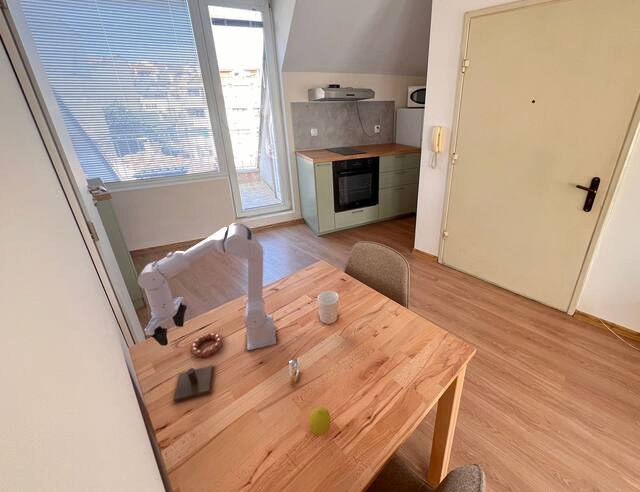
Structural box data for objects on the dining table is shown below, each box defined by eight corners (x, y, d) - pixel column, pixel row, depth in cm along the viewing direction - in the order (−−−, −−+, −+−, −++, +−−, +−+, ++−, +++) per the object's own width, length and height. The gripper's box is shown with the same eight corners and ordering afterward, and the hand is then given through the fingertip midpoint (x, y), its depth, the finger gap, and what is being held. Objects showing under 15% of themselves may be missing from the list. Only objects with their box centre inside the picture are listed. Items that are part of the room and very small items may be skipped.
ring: (297, 390, 87) (295, 372, 84) (287, 389, 87) (285, 370, 84) (304, 370, 93) (302, 352, 90) (294, 369, 94) (292, 351, 90)
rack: (212, 367, 93) (209, 354, 91) (209, 393, 86) (205, 379, 83) (180, 375, 90) (176, 362, 88) (174, 402, 83) (169, 389, 80)
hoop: (223, 333, 106) (222, 329, 105) (221, 354, 98) (220, 350, 97) (193, 340, 103) (192, 335, 102) (189, 362, 95) (188, 357, 94)
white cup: (342, 315, 116) (342, 295, 112) (330, 328, 110) (329, 307, 106) (326, 308, 120) (326, 288, 116) (314, 319, 114) (313, 299, 110)
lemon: (310, 420, 79) (309, 401, 76) (331, 419, 80) (330, 400, 76) (309, 443, 74) (307, 423, 71) (331, 441, 75) (330, 422, 71)
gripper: (165, 285, 94) (175, 317, 100) (129, 317, 81) (143, 352, 87) (186, 286, 94) (195, 319, 99) (153, 319, 81) (165, 354, 86)
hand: (172, 334), depth 93 cm, fingers open, 7 cm apart
